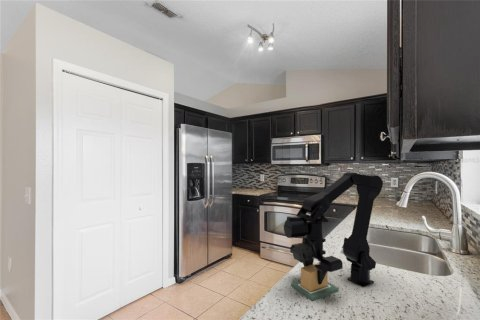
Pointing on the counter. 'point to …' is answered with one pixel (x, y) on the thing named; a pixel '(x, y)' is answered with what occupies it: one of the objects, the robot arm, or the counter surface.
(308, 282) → the block
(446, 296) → the counter surface
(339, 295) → the counter surface
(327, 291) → the board
